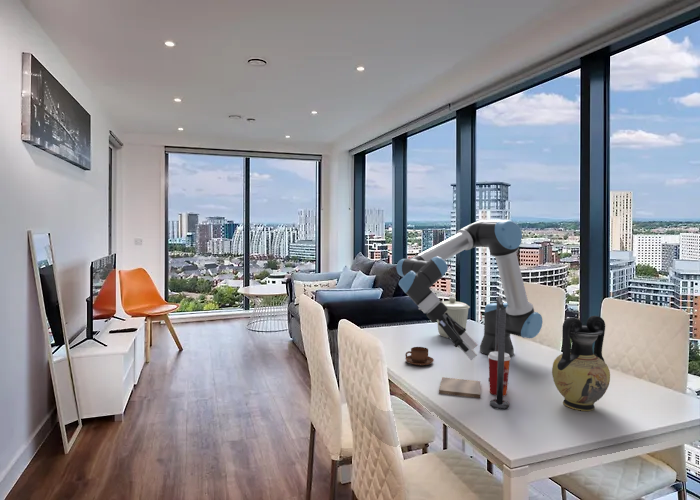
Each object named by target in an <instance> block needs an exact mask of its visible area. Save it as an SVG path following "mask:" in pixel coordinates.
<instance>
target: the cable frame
mask: <svg viewBox="0 0 700 500" xmlns="http://www.w3.org/2000/svg"><path fill="white" fill-rule="evenodd" d="M496 303H497V308H496V339H495V351H497V352H498V368H497V395H496V399H491V400H490V401H489V406H490V407H491V408H493V409H496V410H500V411H501V410H502V411H503V410H509V408H510V403H509V402H508V401H506V400H504V396H503V382H504V352H505V323H506V309H504V305H503V303H504V302H503V298H502V296H498V297H496Z"/></svg>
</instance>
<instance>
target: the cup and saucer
mask: <svg viewBox="0 0 700 500" xmlns="http://www.w3.org/2000/svg"><path fill="white" fill-rule="evenodd" d="M408 354H410V355H408ZM434 360H435V359H434V358H433V357H431V356H429V348H427V347H423V346H414V347H411V348H410V351H407V352H405V361H406V362H407V363H408V364H411V365H415V366H428V365H430V364H432V363H433V362H434Z"/></svg>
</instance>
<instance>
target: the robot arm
mask: <svg viewBox="0 0 700 500" xmlns="http://www.w3.org/2000/svg"><path fill="white" fill-rule="evenodd" d="M522 239H523V232H522V229H521V227H520V225H518V224H517V223H516V222H515V221H513V220H507V219H483V220H477V221H475V222H473V223H469V224H468V225H466V226H464V227H461V228H460V229H459V230H457V231H456V232H455V234H454V235H452V236H450V237H448V238H447V239H444V240H443V241H441V242H439V243H437V244H435V245H433V246H432V247H430V248H427V249H426V250H424V251H422V252H420V253H419V254H416V255H415V256H412V257H410V258H402V259H400V260H398V262H397V264H396V273H397V274H398V275H399V276H400V277H401V279H399V280H398V286H399V287H400V289H402V291H403V292H404V294H406V295H407V296H408V298H410V299H411V301H412V302H413V303H414V304H415V305H416V306H417V307H418V308H417V309H418V310H419V311H422V312H423V314H426V317H427V318H428V319H429V320H430V321H431V322H432V323H434V322H437V320H439V323H438V324H439V325H440V326H441V327H442V328H443V330H444V331H445V332H446V334H447V335H448V336H449V338H448V339H449V340H450V341H452V343H453V347H455V348H459V349H460V350H461V351H462V353H463V354H464V355H466V357H468V359H469V360H470V361H472V360H474V359H475V358H476V357H478V354H477V353H476V352H475V351H474V349H475V348H476V347H477V346H478V344H477V342H475V340H474V339H473V338H472V337H471V336H470V335H469V334H468V333H467V332H466V331H467V328H466V329H465V328H464V329H463V327H462V326H461V325H459V324H458V323H457V322H456V321H455V320H454V319H453V318H452V317H450V316H449V315H448V313H445V312H446V311H447V309H448V308H447V307H446V306H445V305H444V304H443V303H442V302H443V301H440V300H441V299H440V298H439V297H438V296H437V295H436V294H435V293H434V292H433V290H432V289H431V287H432V286H433V285H435V284H436V283H437V282H438V281H439V280H441V278H443V276H445V274H446V273H448V269H449V267H448V264H447V262H446V260H448V259H450V258H452V257H454V256H456V255H458V254H459V253H461V252H463V251H464V250H465V251H469V250H472V249H473V248H474V249H475V248H479V247H480V248H488V250H489V254H490V256H492V257H493V258H494V259H495V261H496V265H497V269H498V274H499V276H500V281H501V285H502V289H503V292H504V297H505V300H506V302H503V305H504V309H506V323H505V352H504V353H508V354H509V355H510V357H511V356H513V355H514V354H515V353H514V351H515V349H514V345H513V342H512V341H513V340H511V339H512V338H511V335H512V336H517V337H521V338H524V339H525V338H526V339H534V338H535V337H536V336H538V335H539V333H540V331H541V330H542V327H543V316H542V314H541V313H539V312H537V311H535V309H534V305H533V304H532V303H531V302H529V300H528V297H527V296H528V295H527V292H526V287H525V283H524V280H523V276H522V271H521V268H520V263H519V259H518V255H517V253H518V251H519V249H520V246H521V245H522V241H523V240H522ZM496 308H497V302H496V303H495V302H494V303H493V302H492V303H488V304H486V305H485V307H484V319H483V320H484V321H483V323H484V327H483V328H484V329H483V336H482V339H481V342H480V345H479V352H480V353H481V354H483V355H487V356H488V355H489V353H490V352H495V339H496ZM438 324H437V325H438ZM459 335H461V336H459Z"/></svg>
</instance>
